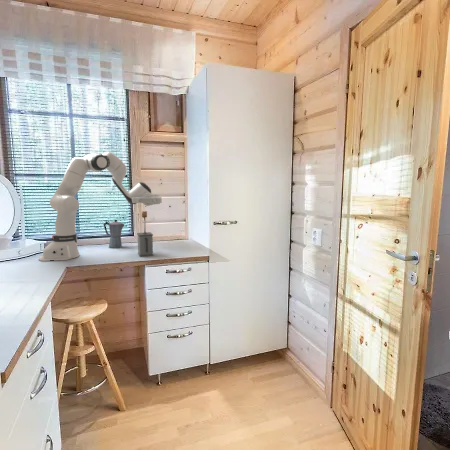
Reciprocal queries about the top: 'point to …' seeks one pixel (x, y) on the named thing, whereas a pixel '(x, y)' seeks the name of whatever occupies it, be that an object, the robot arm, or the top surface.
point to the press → (145, 244)
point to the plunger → (144, 214)
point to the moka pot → (114, 233)
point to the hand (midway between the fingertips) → (146, 201)
